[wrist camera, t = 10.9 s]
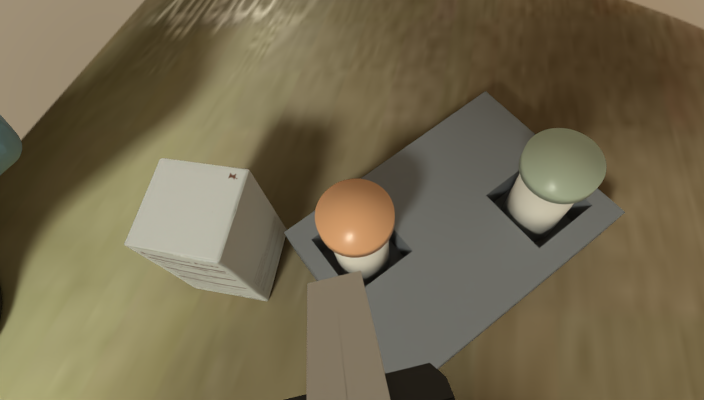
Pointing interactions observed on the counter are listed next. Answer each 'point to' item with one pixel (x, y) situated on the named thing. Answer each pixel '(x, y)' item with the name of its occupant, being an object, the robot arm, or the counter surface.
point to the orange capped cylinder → (357, 226)
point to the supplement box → (210, 228)
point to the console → (456, 237)
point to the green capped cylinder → (553, 179)
